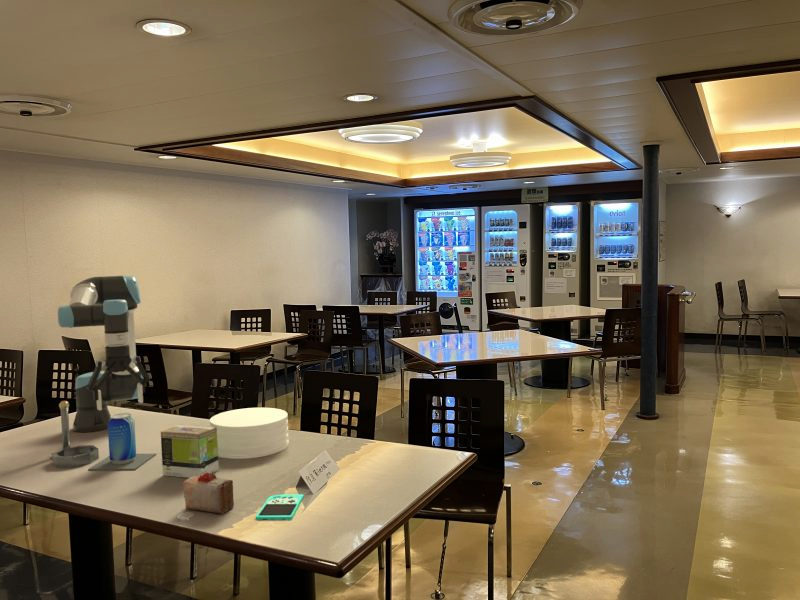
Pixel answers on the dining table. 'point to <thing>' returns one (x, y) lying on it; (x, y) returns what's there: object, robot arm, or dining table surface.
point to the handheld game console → (280, 507)
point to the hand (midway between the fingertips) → (120, 406)
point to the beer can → (121, 438)
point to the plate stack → (251, 432)
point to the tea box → (189, 450)
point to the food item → (208, 493)
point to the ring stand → (72, 454)
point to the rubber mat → (133, 465)
